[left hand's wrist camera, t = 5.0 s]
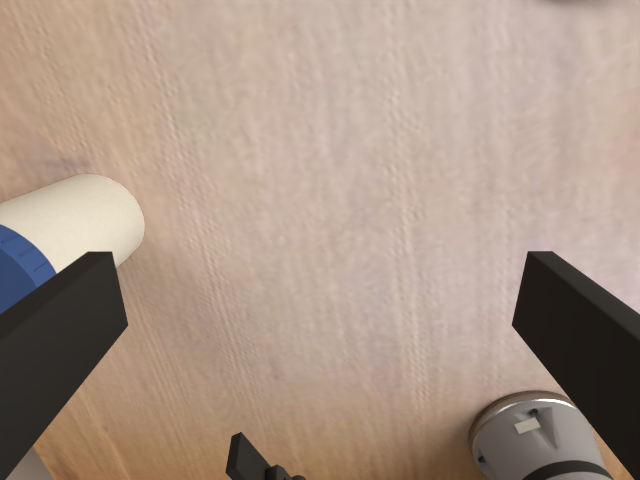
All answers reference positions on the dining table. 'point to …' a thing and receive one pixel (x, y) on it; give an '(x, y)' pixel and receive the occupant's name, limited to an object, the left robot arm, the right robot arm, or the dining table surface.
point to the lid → (20, 268)
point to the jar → (77, 219)
